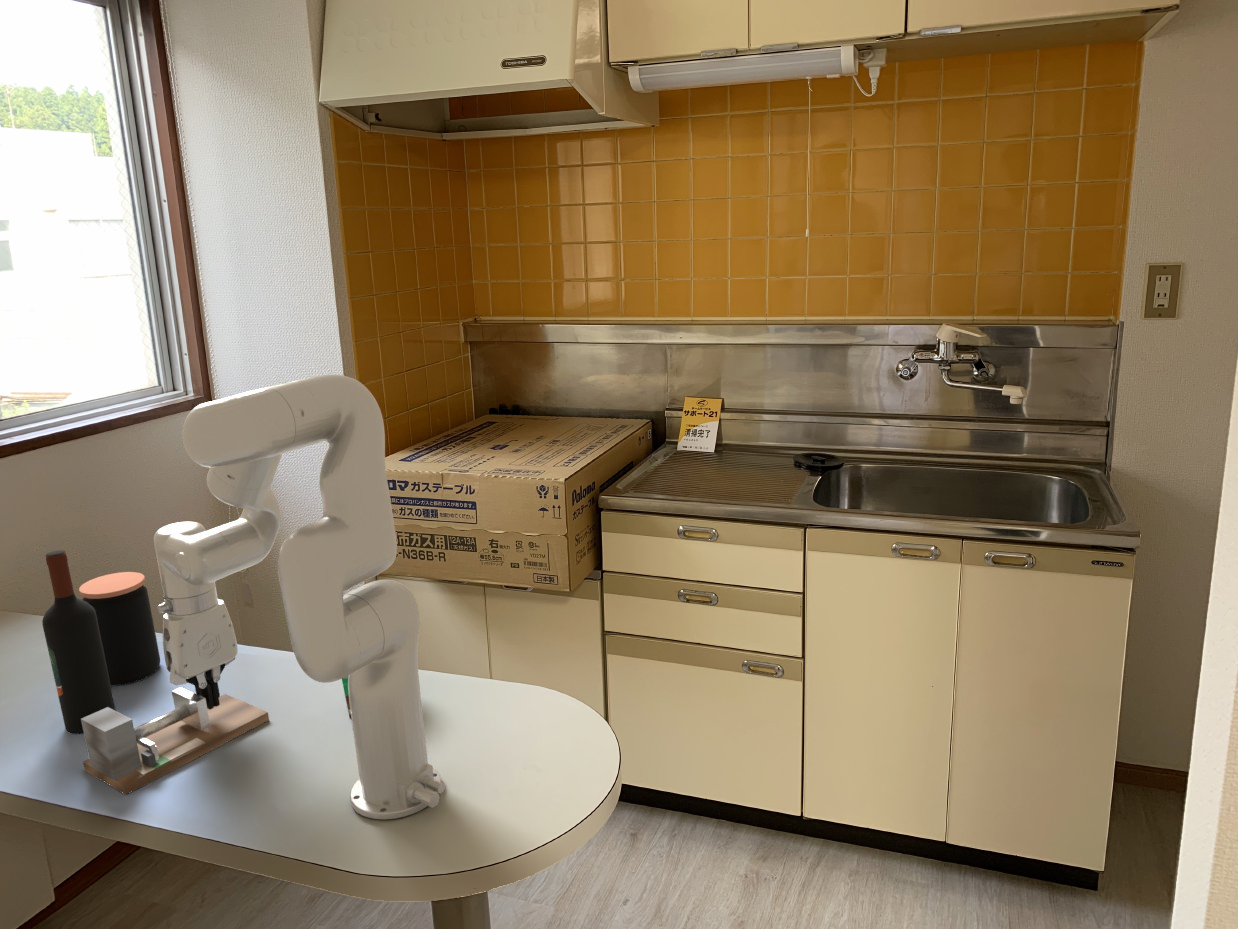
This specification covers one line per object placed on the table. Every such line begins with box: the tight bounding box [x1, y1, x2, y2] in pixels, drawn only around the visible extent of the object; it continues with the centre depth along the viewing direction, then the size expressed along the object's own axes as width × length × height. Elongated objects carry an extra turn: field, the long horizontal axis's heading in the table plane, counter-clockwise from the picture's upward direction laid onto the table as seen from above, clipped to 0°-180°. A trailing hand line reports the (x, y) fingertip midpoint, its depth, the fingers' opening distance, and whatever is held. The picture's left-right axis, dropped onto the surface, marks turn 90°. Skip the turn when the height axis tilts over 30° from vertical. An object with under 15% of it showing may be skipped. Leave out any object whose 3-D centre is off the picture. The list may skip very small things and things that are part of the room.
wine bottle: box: [42, 549, 117, 735], centre depth 153 cm, size 8×8×30 cm
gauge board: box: [81, 693, 270, 795], centre depth 148 cm, size 12×24×10 cm, turn 145°
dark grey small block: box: [141, 750, 156, 767], centre depth 140 cm, size 2×1×2 cm, turn 55°
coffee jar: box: [78, 571, 161, 686], centre depth 172 cm, size 11×11×18 cm
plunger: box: [134, 686, 210, 761], centre depth 146 cm, size 8×11×5 cm
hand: (209, 705), depth 152 cm, fingers closed
